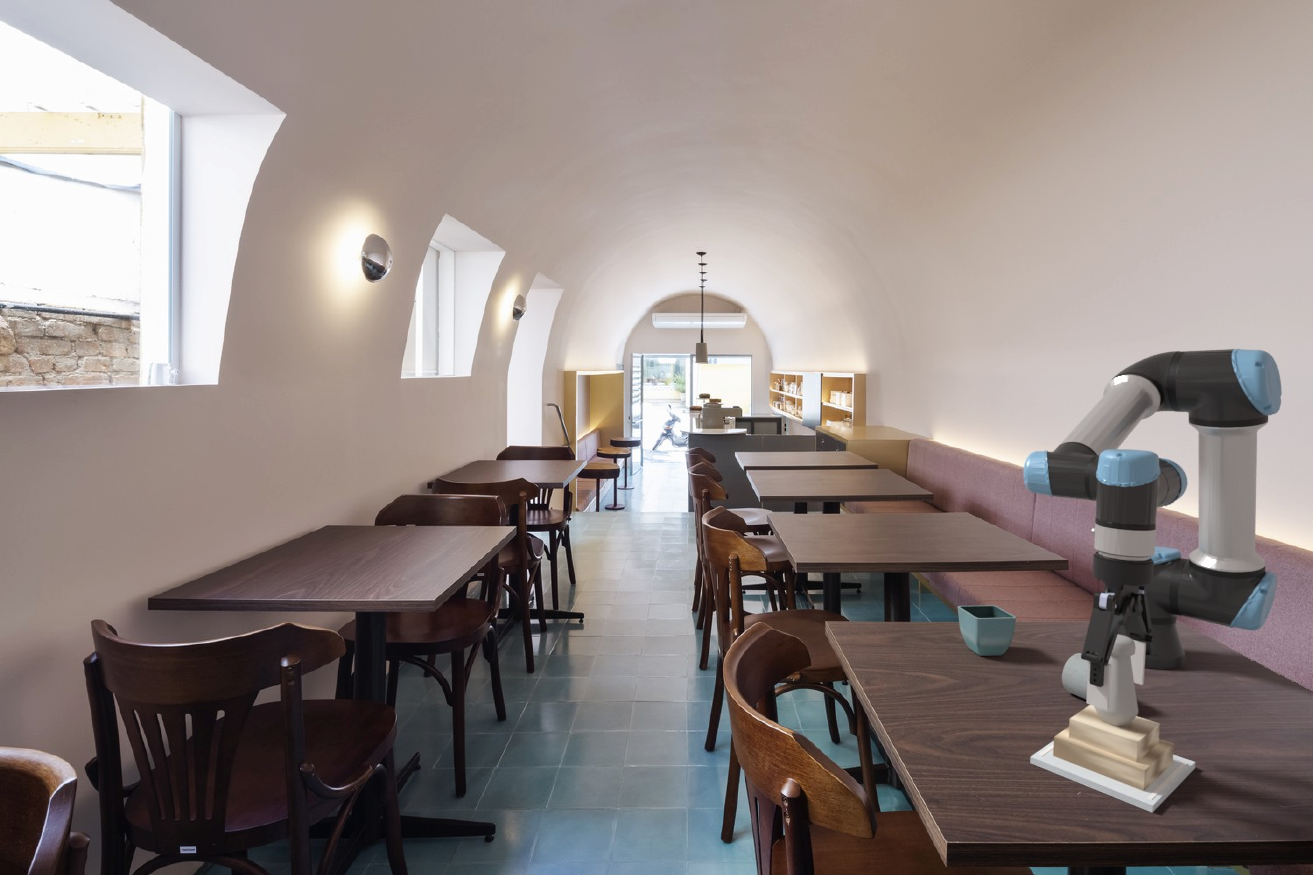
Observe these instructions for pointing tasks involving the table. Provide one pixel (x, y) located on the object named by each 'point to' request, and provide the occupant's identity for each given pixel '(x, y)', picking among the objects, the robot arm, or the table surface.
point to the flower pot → (986, 628)
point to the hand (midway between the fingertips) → (1115, 693)
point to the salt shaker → (1121, 685)
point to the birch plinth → (1115, 762)
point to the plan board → (1114, 788)
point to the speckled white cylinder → (1076, 676)
